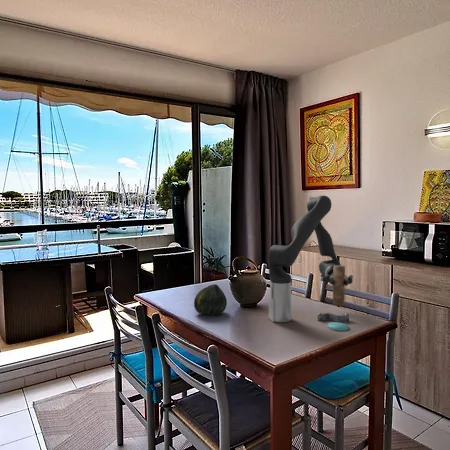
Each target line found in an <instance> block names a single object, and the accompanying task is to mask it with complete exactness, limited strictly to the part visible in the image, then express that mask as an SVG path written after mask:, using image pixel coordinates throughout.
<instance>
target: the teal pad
mask: <svg viewBox="0 0 450 450" xmlns="http://www.w3.org/2000/svg"><path fill="white" fill-rule="evenodd" d="M327 329H329V330H333V331H336V332H339V331H340V332H345V331H348V330H349V325H348V324H347V323H345V322H340V323H339V322H334V321H331V322H329V323H328V324H327Z"/></svg>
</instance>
